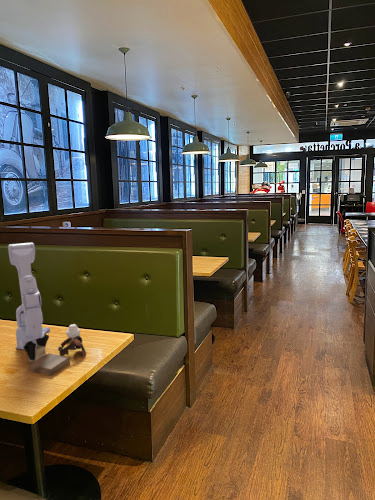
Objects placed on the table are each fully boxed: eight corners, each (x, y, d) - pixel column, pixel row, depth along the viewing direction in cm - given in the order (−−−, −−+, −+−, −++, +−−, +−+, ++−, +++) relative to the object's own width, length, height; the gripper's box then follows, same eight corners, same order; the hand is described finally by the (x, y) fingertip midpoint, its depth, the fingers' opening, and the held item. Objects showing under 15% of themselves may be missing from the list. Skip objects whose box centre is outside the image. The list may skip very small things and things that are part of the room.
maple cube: (28, 361, 146) (27, 349, 145) (37, 356, 150) (35, 344, 149) (37, 363, 144) (36, 351, 143) (46, 358, 148) (44, 346, 147)
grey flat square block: (30, 372, 138) (29, 364, 138) (49, 360, 147) (48, 353, 147) (51, 377, 134) (51, 369, 134) (69, 364, 144) (69, 357, 143)
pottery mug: (83, 361, 146) (71, 346, 143) (64, 369, 148) (51, 355, 145) (92, 341, 157) (81, 327, 154) (74, 349, 159) (62, 335, 156)
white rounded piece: (65, 337, 167) (64, 323, 166) (79, 335, 170) (78, 320, 168) (67, 343, 162) (66, 327, 160) (82, 340, 164) (80, 325, 163)
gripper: (27, 331, 136) (31, 366, 138) (55, 318, 149) (57, 350, 152) (12, 329, 139) (16, 363, 141) (41, 316, 152) (44, 347, 154)
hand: (37, 356), depth 147 cm, fingers closed on maple cube, 4 cm apart
